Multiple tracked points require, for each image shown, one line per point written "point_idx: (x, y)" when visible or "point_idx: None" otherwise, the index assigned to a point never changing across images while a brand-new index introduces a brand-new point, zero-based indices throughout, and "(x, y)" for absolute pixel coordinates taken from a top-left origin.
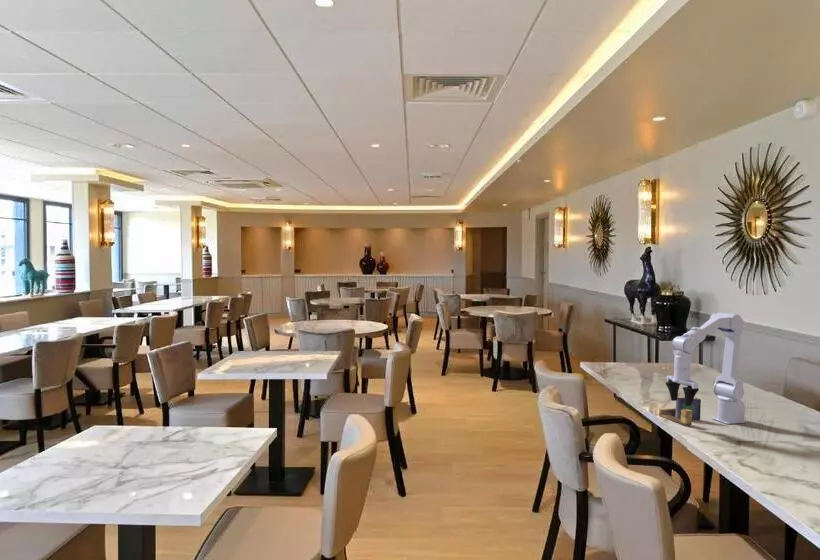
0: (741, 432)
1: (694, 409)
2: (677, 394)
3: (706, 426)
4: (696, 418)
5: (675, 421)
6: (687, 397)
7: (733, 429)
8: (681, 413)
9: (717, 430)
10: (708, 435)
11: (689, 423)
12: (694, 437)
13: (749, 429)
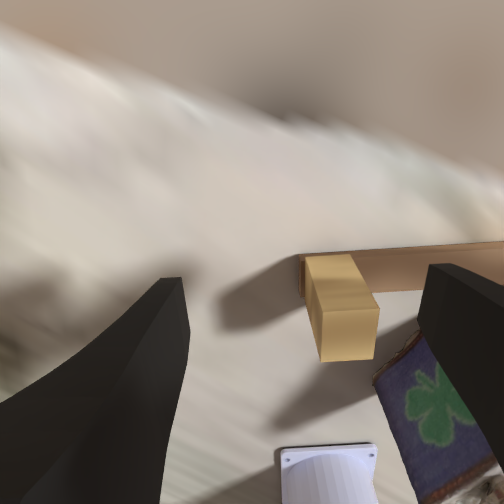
0: None
1: (413, 419)
2: (459, 388)
3: (275, 355)
4: (382, 380)
5: (399, 248)
6: (84, 354)
7: (207, 428)
8: (362, 289)
9: (201, 362)
10: (112, 264)
11: (305, 286)
12: (63, 146)
13: (200, 474)
